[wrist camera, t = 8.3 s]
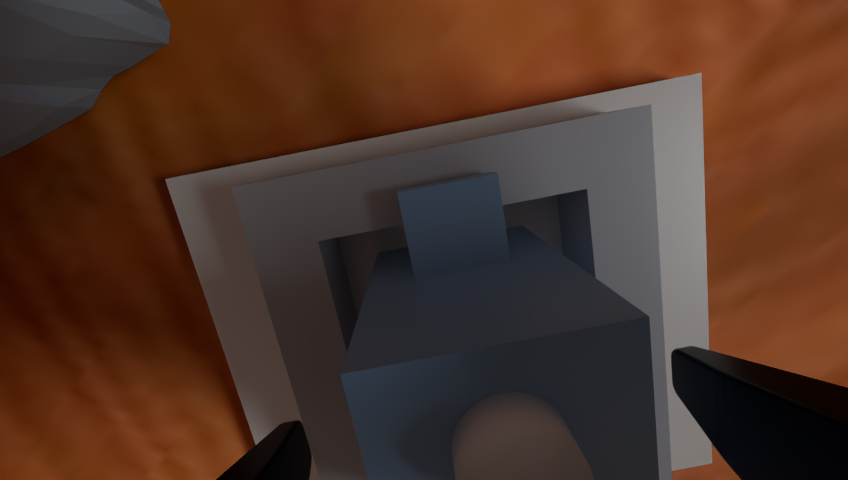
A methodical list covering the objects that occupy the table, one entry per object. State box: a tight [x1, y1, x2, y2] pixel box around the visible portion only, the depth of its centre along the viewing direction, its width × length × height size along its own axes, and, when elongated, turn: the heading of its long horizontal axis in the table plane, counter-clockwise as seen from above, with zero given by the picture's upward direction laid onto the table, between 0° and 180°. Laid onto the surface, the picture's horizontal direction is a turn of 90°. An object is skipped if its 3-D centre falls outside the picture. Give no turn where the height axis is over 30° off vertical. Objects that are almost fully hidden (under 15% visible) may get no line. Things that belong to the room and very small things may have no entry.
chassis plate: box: [165, 73, 712, 480], centre depth 11 cm, size 12×14×3 cm
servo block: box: [340, 172, 659, 480], centre depth 8 cm, size 10×4×7 cm, turn 11°
